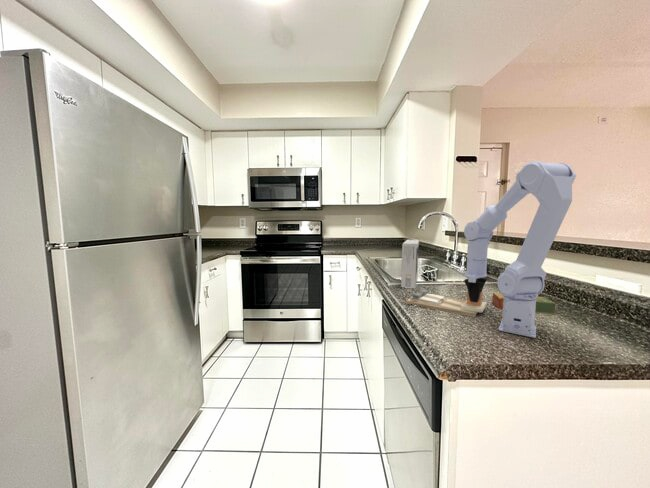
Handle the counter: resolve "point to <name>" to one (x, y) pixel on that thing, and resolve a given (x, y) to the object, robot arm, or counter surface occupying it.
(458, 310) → the board
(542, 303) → the carton
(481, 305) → the tan block on base
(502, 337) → the counter surface
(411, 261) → the packaging
